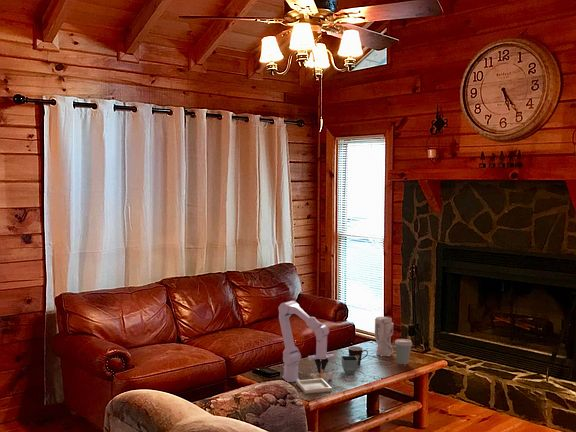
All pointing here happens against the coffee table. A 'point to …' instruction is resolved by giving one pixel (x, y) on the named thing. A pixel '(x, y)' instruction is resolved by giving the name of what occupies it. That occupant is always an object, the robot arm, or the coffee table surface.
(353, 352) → the coffee mug
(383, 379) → the coffee table surface
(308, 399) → the coffee table surface
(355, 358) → the flower pot
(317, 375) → the collar
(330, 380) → the peg
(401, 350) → the disposable coffee cup
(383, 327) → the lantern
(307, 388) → the tray
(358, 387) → the coffee table surface
